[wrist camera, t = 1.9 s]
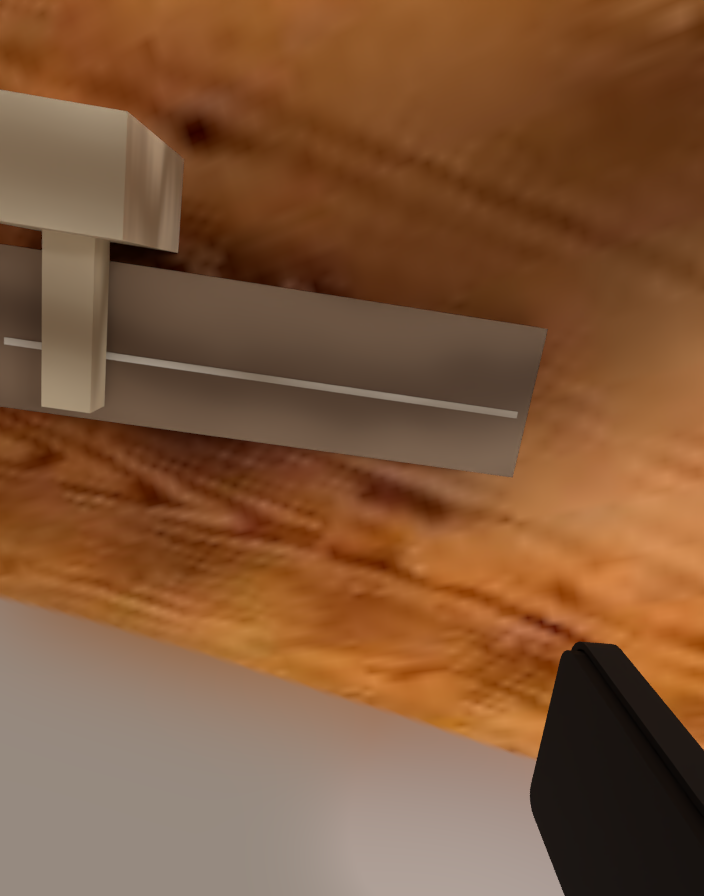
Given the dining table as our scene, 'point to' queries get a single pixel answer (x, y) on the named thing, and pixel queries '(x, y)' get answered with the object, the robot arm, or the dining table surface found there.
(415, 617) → the dining table surface
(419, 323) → the plank
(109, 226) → the beige t-shaped block
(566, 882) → the robot arm
